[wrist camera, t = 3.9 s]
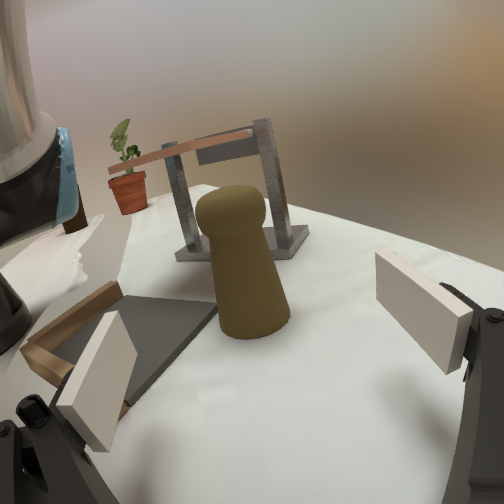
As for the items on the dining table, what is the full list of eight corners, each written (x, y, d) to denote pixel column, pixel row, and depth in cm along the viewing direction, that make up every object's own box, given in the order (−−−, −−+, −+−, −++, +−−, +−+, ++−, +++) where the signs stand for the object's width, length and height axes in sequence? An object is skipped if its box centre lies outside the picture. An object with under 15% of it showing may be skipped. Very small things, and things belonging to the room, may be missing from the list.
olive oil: (94, 222, 104) (77, 159, 95) (76, 232, 94) (58, 164, 86) (77, 227, 107) (60, 167, 98) (59, 236, 97) (41, 172, 89)
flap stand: (208, 238, 51) (185, 141, 45) (308, 232, 43) (288, 117, 38) (176, 261, 43) (147, 148, 38) (290, 258, 36) (264, 116, 30)
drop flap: (206, 163, 46) (200, 138, 44) (276, 150, 41) (270, 122, 39) (114, 198, 30) (104, 163, 28) (202, 179, 25) (191, 133, 23)
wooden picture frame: (28, 367, 22) (16, 347, 22) (117, 299, 35) (110, 281, 34) (115, 423, 16) (97, 397, 15) (218, 309, 28) (211, 286, 27)
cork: (210, 339, 24) (170, 205, 20) (231, 301, 29) (202, 187, 26) (285, 338, 22) (257, 189, 18) (294, 297, 28) (272, 175, 24)
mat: (47, 362, 23) (44, 358, 23) (127, 299, 34) (126, 295, 34) (130, 406, 17) (127, 400, 17) (220, 308, 28) (218, 302, 28)
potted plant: (162, 201, 110) (142, 111, 98) (138, 213, 97) (115, 112, 85) (132, 207, 115) (112, 124, 103) (107, 219, 102) (85, 127, 90)
